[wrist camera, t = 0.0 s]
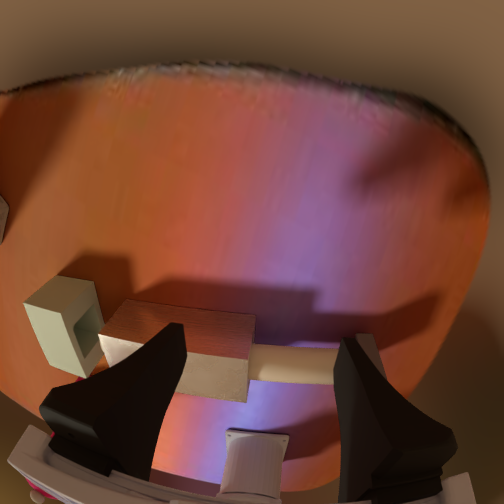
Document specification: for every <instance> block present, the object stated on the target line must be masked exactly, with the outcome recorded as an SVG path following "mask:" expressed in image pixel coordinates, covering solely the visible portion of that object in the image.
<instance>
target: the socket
mask: <svg viewBox="0 0 504 504" xmlns="http://www.w3.org/2000/svg"><path fill="white" fill-rule="evenodd" d="M23 304H24V306H25V309H26V312H27V314H28V317H29V319H30V322H31V324H32V327H33V329H34V332H35V334H36V336H37V339H38V341H39V343H40V345H41V347H42V350H43V352H44V354H45V356H46V358H47V360H48V362H49V364H50V365H51V366H53V367H56V368H59V369H61V370H64V371H66V372H69V373H72V374H74V375H77V376H80V377H83V378H88V377H89V375H90V374H91V372H92V371H93V369H94V368H95V367H96V365H97V364H98V362H99V361H100V359H101V358H102V356H103V355H104V354H105V353H104V352H103V351H102V349H101V346H100V339H99V336H98V333H99V332H100V331H101V329H102V328H103V327H104V325H105V323H104V320H103V316H102V312H101V309H100V305H99V301H98V297H97V293H96V289H95V285H94V281H88V280H82V279H76V278H70V277H64V276H58V275H56V276H54V277H53V278H52V279H51V280H49V281H48V282H47V283H46V284H45V285H43V286H42V287H41V288H40V289H39V290H37V291H36V292H35V293H34V294H33V295H31V296H30V297H29V298H28V299H27V300H26V301H25V302H23Z"/></svg>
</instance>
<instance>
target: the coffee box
mask: <svg viewBox="0 0 504 504" xmlns="http://www.w3.org/2000/svg"><path fill="white" fill-rule="evenodd" d="M8 211H9V207H8V205H7V203H6V202H5V201H4V199H3V198H2V197H1V195H0V245H1V243H2V238H3V233H4V228H5V224H6V219H7V215H8Z"/></svg>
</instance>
